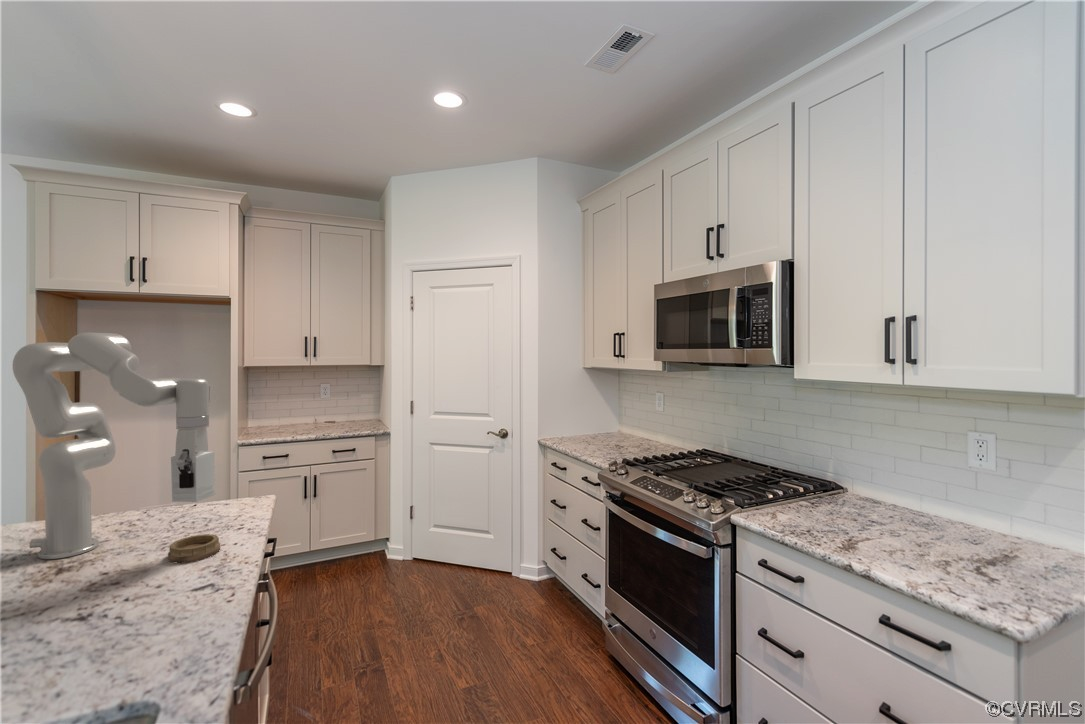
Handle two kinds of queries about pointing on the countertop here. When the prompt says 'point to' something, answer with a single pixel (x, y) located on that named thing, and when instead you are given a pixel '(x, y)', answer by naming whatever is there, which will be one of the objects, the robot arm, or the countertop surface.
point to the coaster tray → (193, 558)
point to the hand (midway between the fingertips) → (193, 483)
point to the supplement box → (195, 479)
